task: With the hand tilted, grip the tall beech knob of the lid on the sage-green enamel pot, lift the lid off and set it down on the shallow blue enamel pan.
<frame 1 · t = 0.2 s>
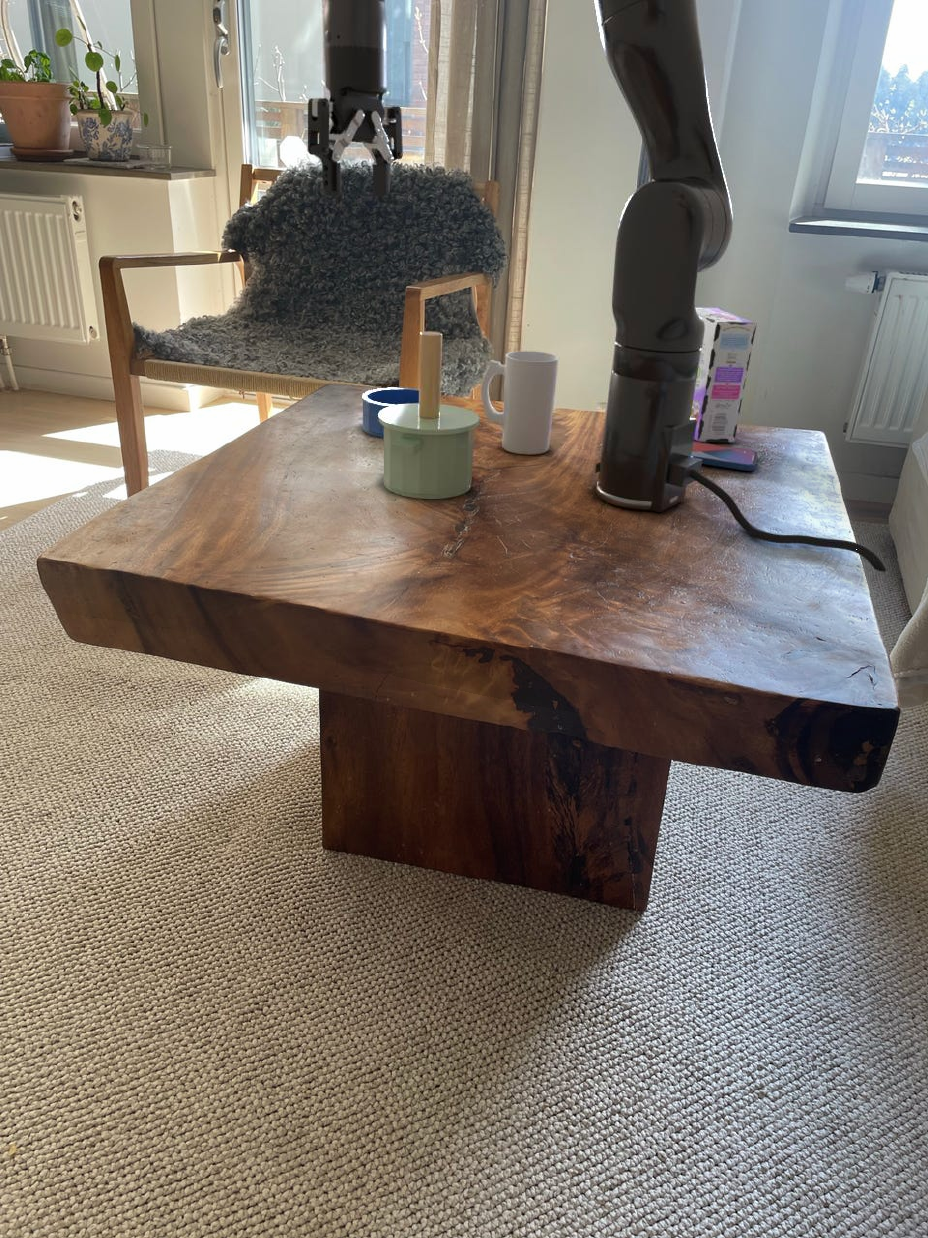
hand: (357, 195, 114), 29 cm above the table, tool pointing down, fingers open, 8 cm apart
smartphone: (696, 457, 118), on the table
mug: (513, 447, 119), on the table
candy box: (698, 431, 131), on the table
lid: (429, 420, 100), point 7 cm above the table, touching pot
pot: (427, 484, 104), on the table
pan: (400, 428, 124), on the table
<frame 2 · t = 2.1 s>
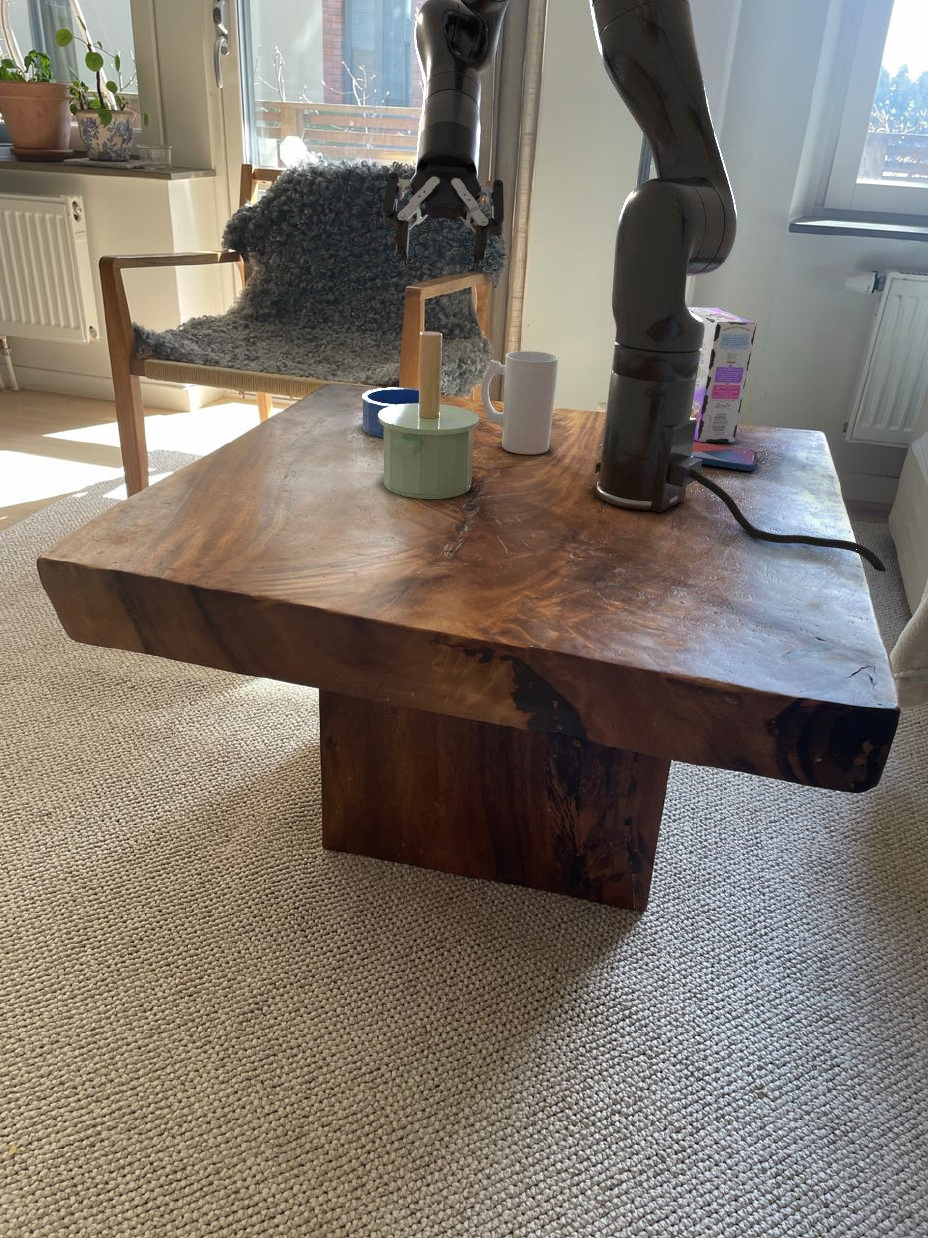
hand: (440, 257, 104), 24 cm above the table, tool tilted 45°, fingers open, 8 cm apart
nothing on the table moved.
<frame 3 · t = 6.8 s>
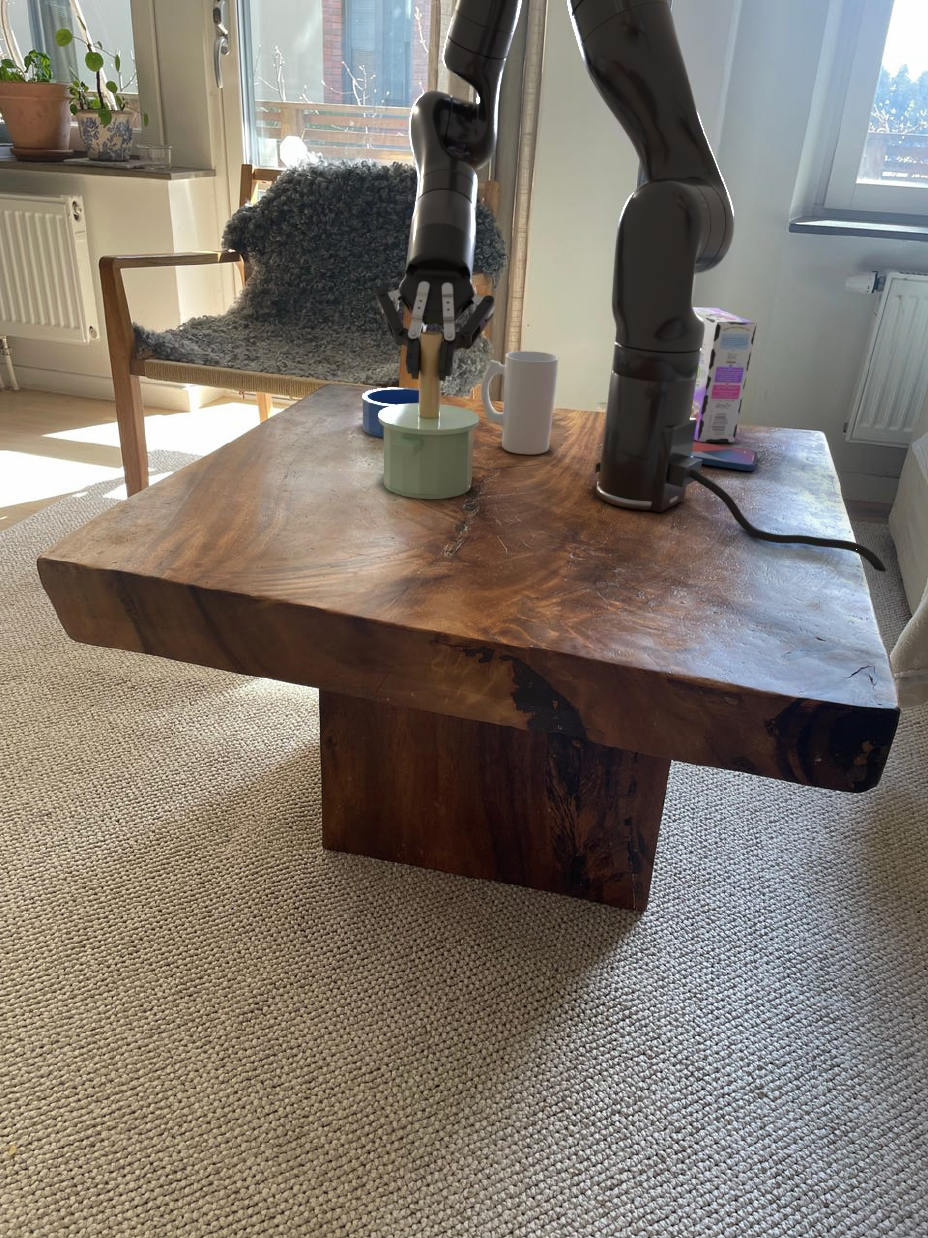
hand: (428, 375, 96), 13 cm above the table, tool tilted 45°, fingers closed on lid, 2 cm apart
lid: (429, 420, 100), point 8 cm above the table, touching gripper, pot
everything else where it was.
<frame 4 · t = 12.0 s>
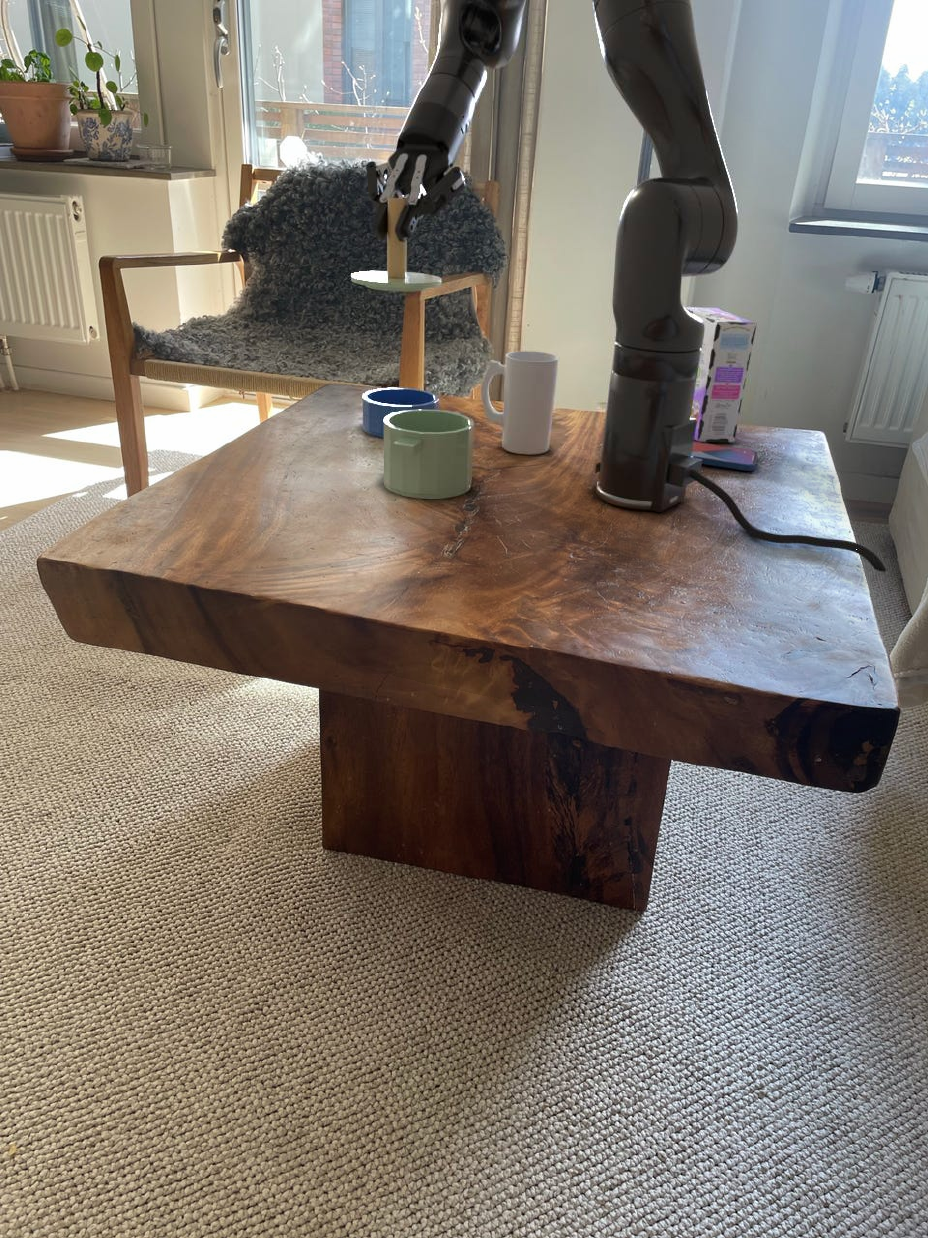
hand: (389, 235, 108), 25 cm above the table, tool tilted 45°, fingers closed on lid, 2 cm apart
lid: (396, 281, 112), point 20 cm above the table, touching gripper
everything else where it was.
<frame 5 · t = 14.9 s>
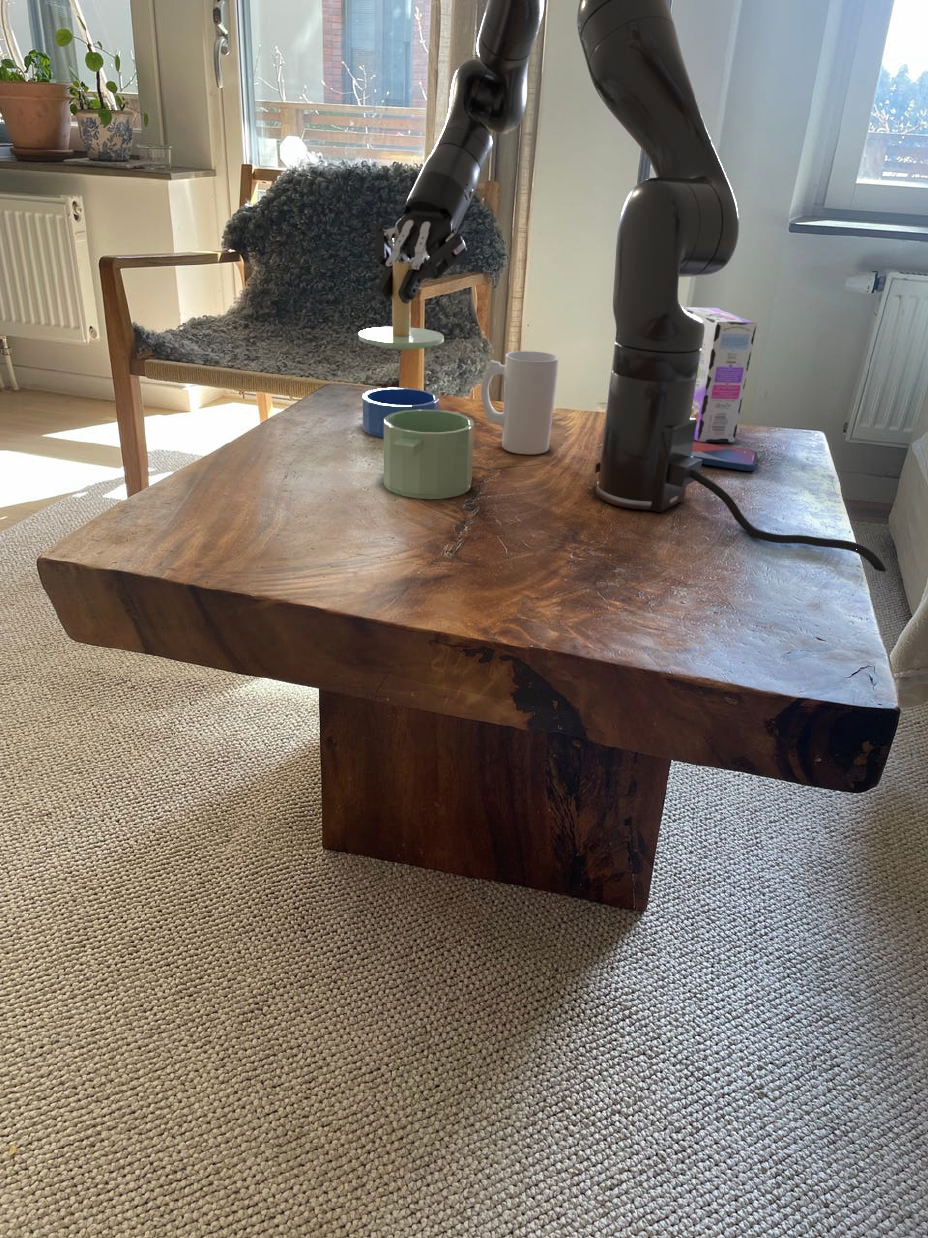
hand: (393, 297, 114), 18 cm above the table, tool tilted 45°, fingers closed on lid, 2 cm apart
lid: (401, 339, 119), point 12 cm above the table, touching gripper
everything else where it was.
when the fingers open (10 cm above the table, at t = 17.2 s): lid stays where it is, resting on pan.
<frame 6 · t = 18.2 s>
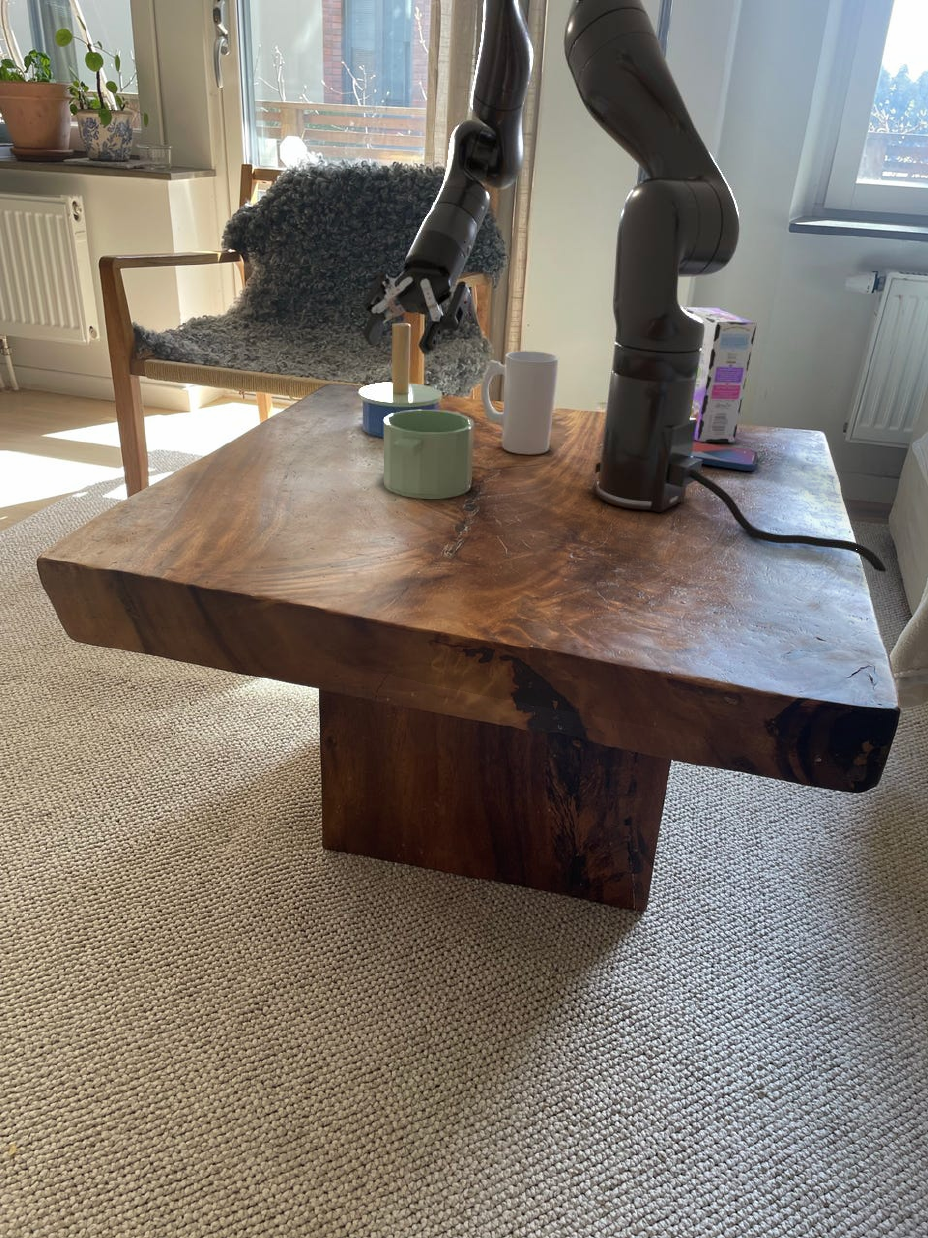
hand: (395, 346, 118), 11 cm above the table, tool tilted 45°, fingers open, 8 cm apart
lid: (400, 396, 122), point 4 cm above the table, touching pan
everything else where it was.
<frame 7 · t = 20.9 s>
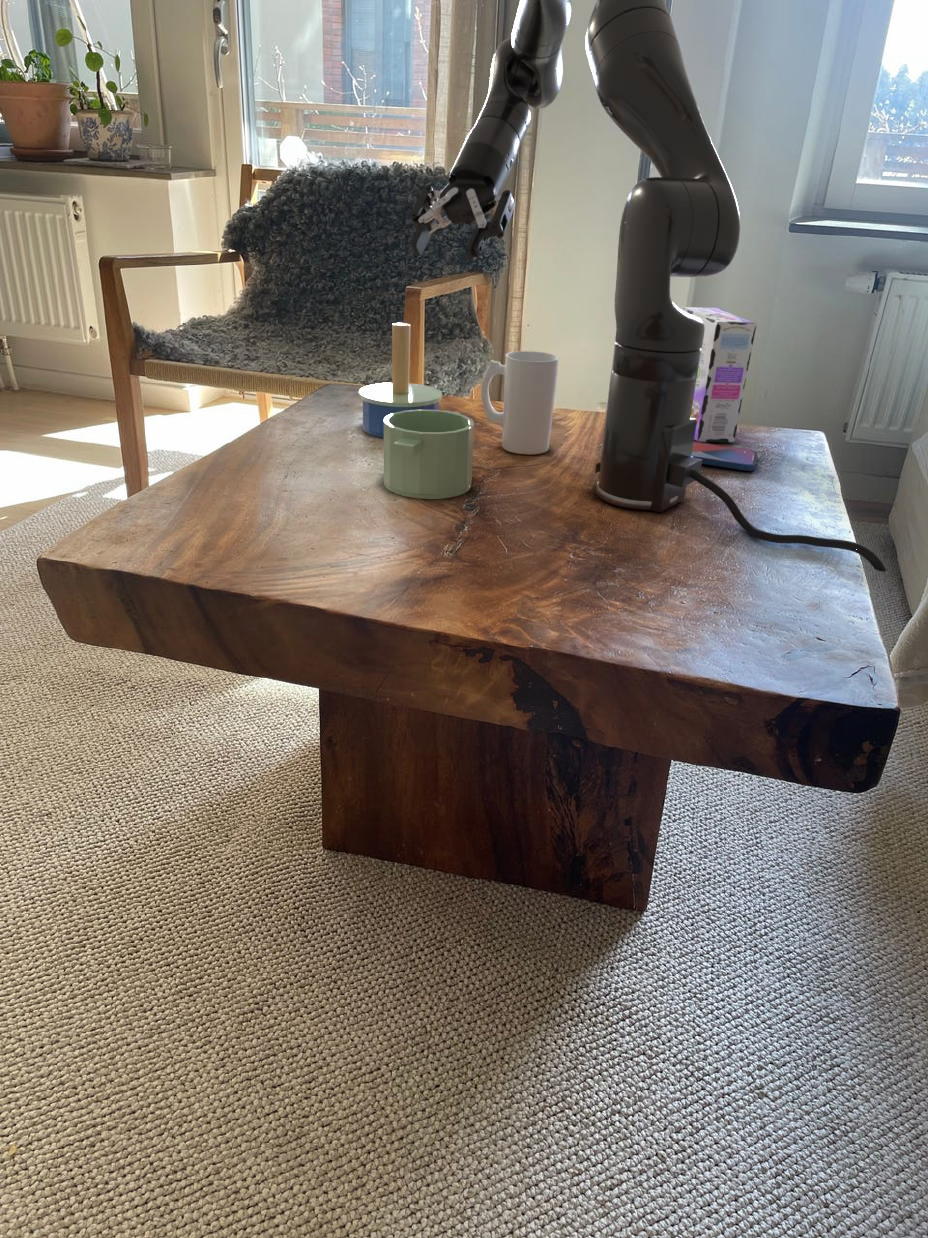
hand: (442, 253, 122), 22 cm above the table, tool tilted 45°, fingers open, 8 cm apart
nothing on the table moved.
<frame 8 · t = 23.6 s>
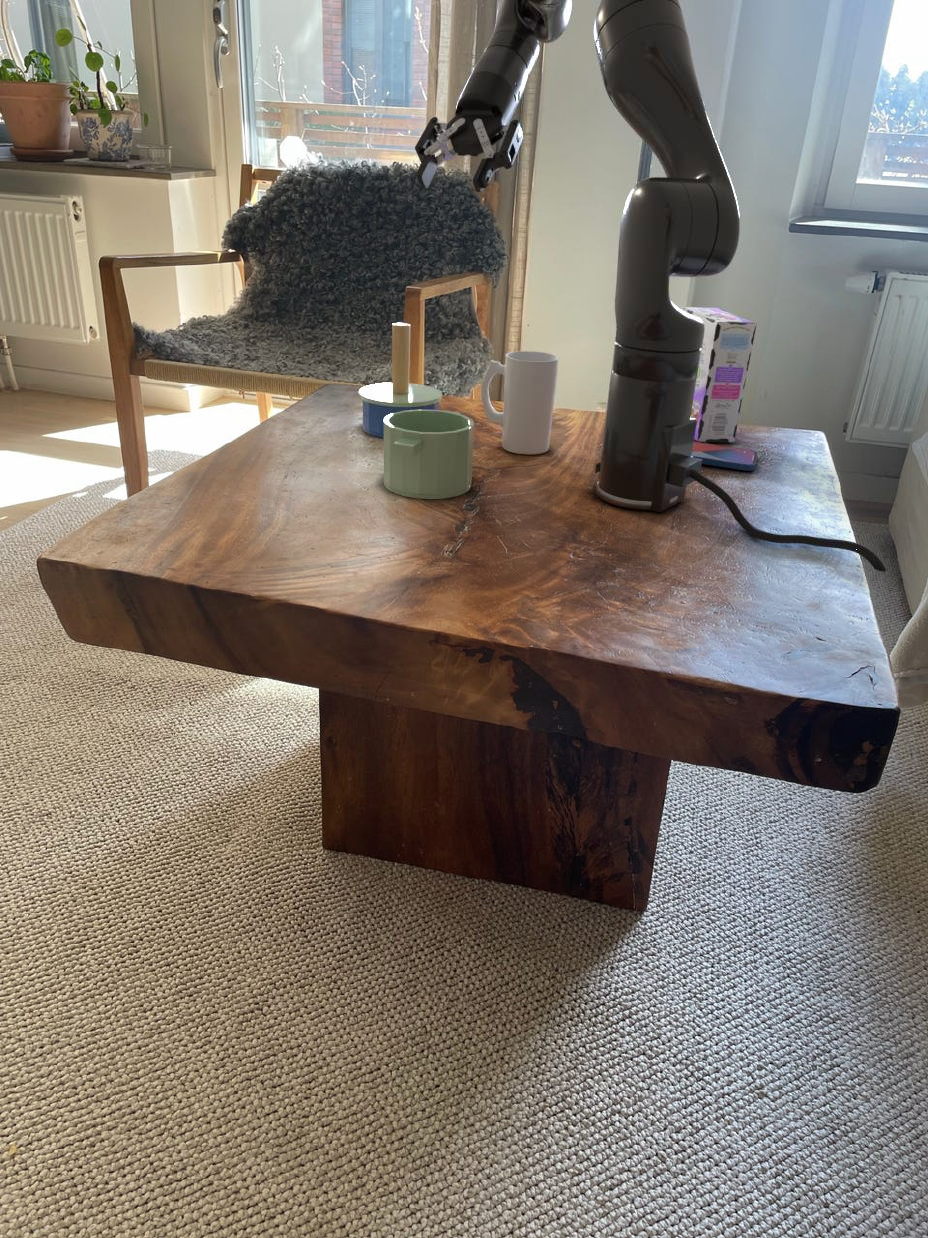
hand: (449, 185, 119), 31 cm above the table, tool tilted 45°, fingers open, 8 cm apart
nothing on the table moved.
at the end: lid 0.1 cm off-centre on the pan, point 4.5 cm above the pan's base; lid tilted 0°; the gripper is holding nothing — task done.
